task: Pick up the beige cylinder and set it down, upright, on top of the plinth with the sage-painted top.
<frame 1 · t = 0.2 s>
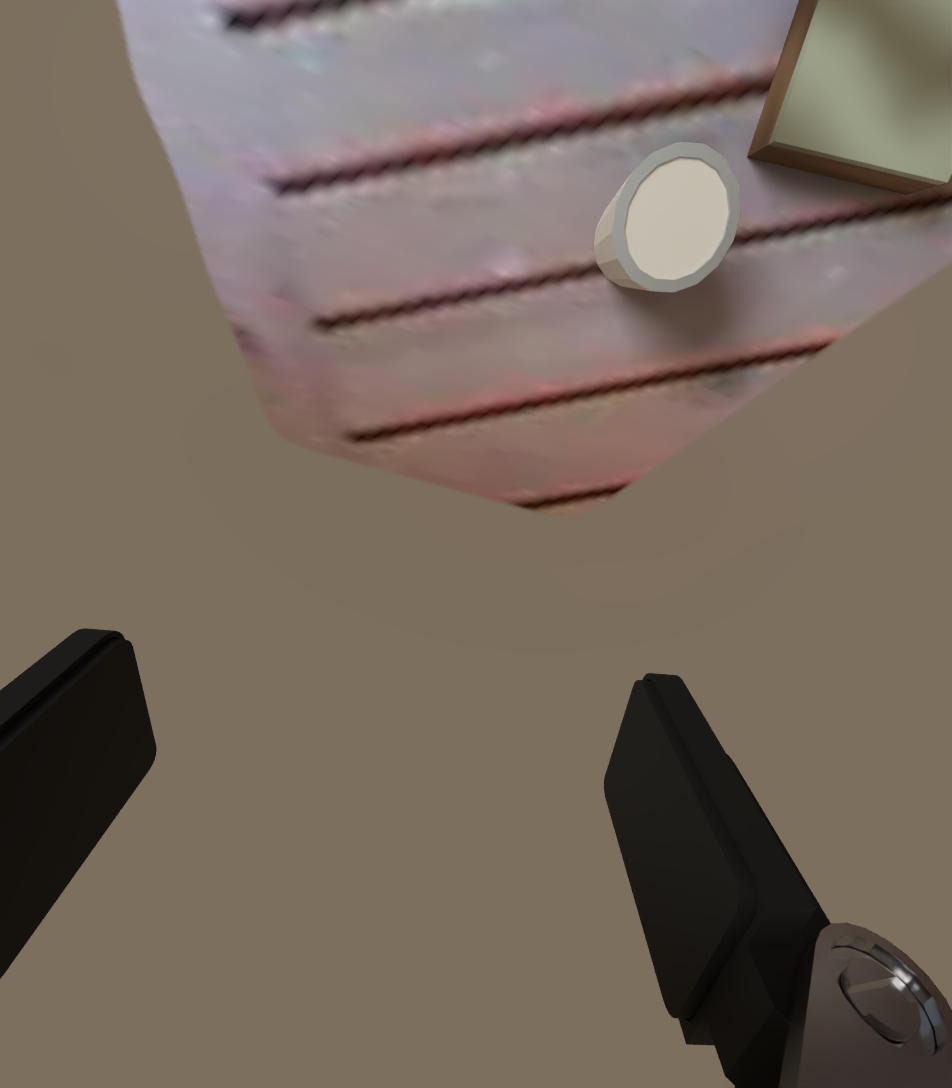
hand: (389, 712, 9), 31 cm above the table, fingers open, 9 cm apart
beige cylinder: (635, 240, 32), on the table
plinth: (872, 63, 28), on the table
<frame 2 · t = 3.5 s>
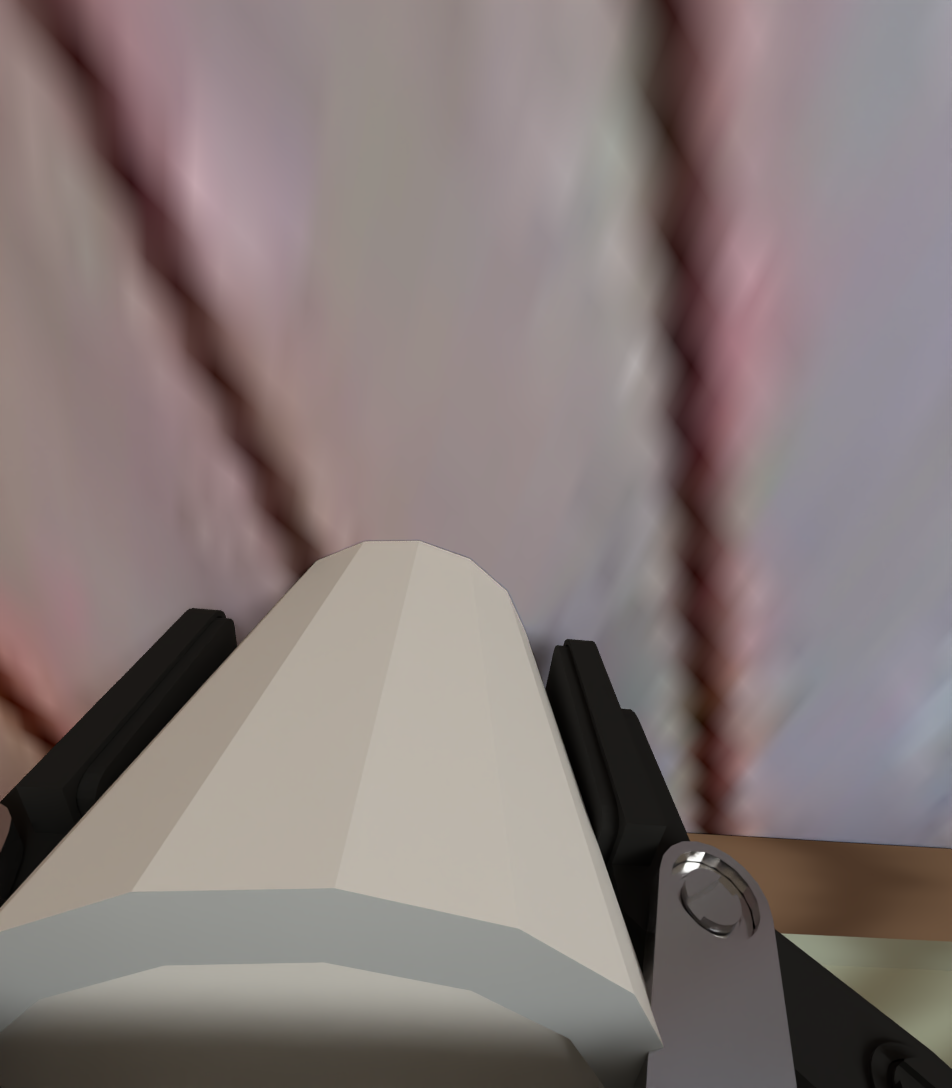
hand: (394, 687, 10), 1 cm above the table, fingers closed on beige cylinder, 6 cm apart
beige cylinder: (402, 647, 11), on the table, touching gripper
plinth: (717, 945, 16), on the table
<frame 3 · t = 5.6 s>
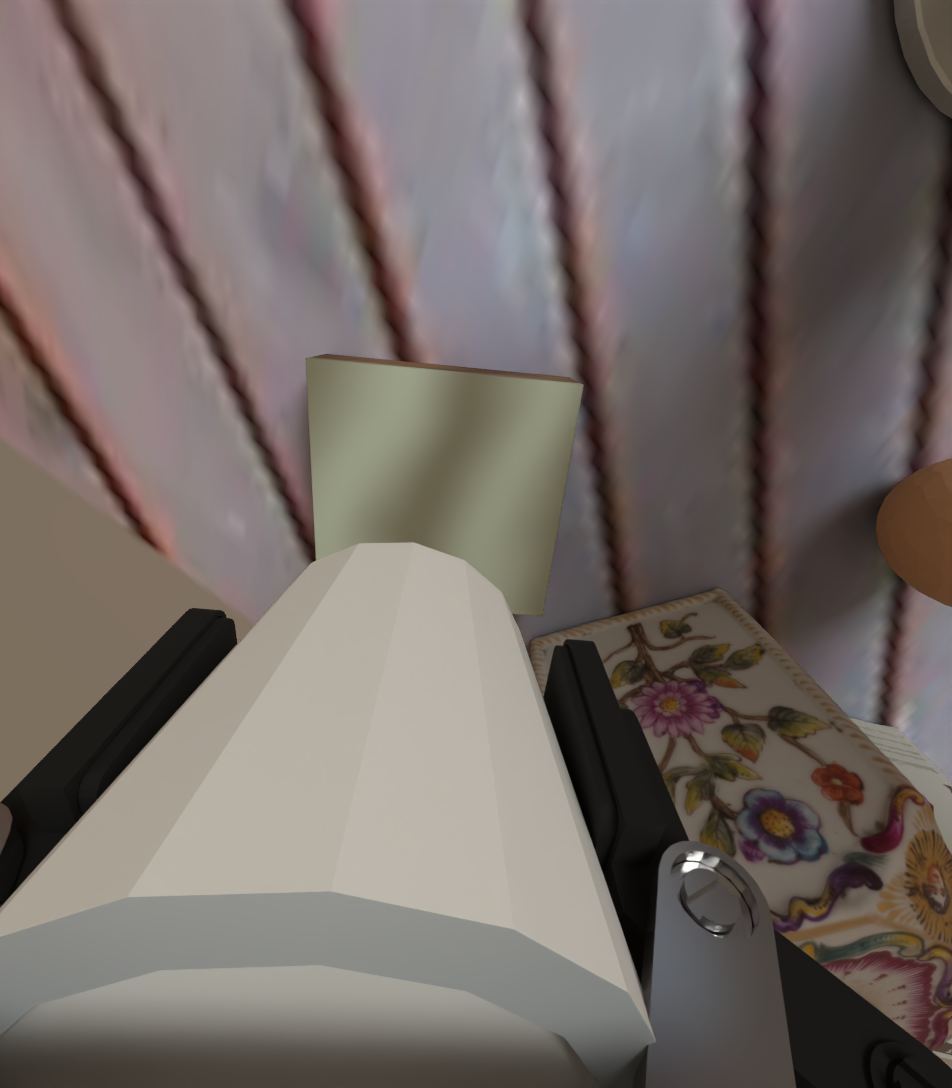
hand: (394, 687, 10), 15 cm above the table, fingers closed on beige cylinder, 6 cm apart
egg: (902, 500, 25), on the table
beige cylinder: (398, 648, 11), point 14 cm above the table, touching gripper
decorative jar: (638, 683, 30), on the table
skincare box: (813, 741, 32), on the table
plinth: (441, 482, 24), on the table
when the fingers open (5 cm above the table, at t = 8.0 s): beige cylinder drops 1 cm, resting on plinth.
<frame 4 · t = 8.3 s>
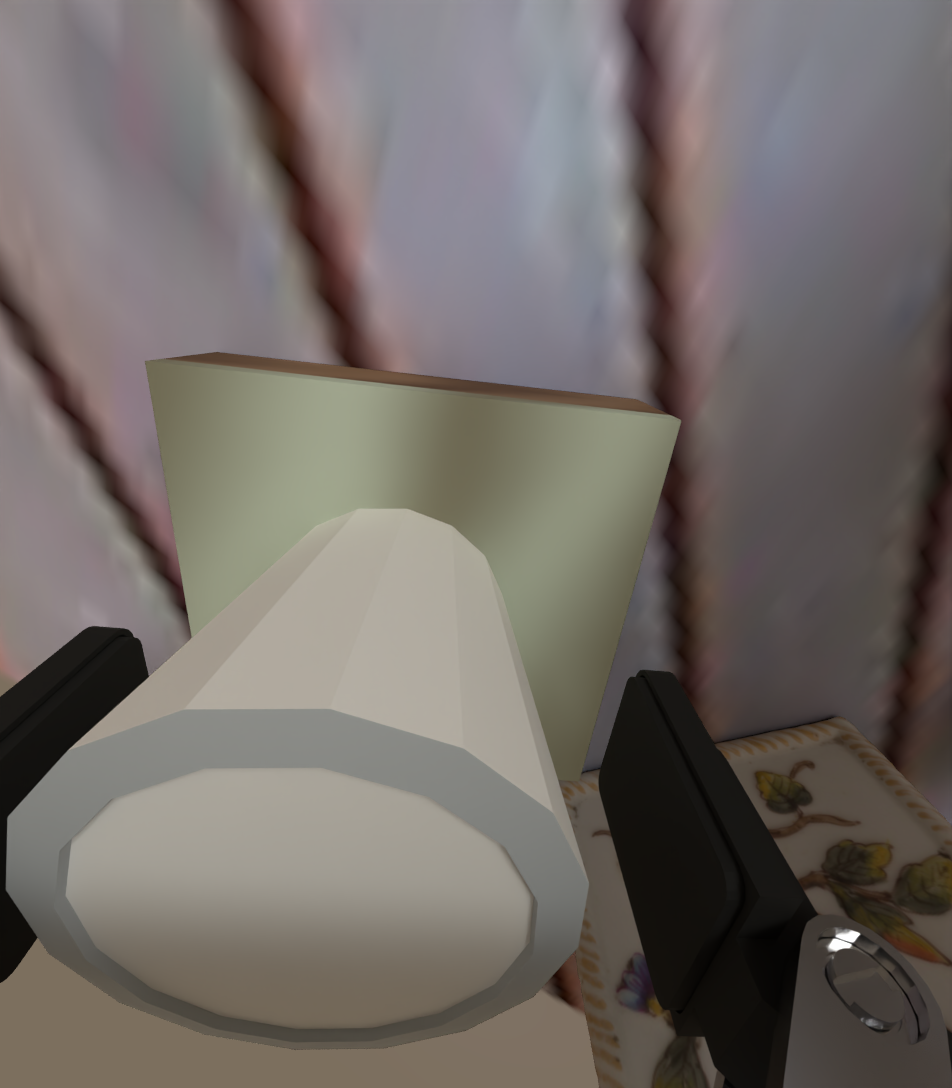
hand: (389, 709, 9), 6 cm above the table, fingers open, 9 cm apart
beige cylinder: (392, 607, 12), point 3 cm above the table, touching plinth
decorative jar: (703, 831, 21), on the table
plinth: (419, 562, 15), on the table
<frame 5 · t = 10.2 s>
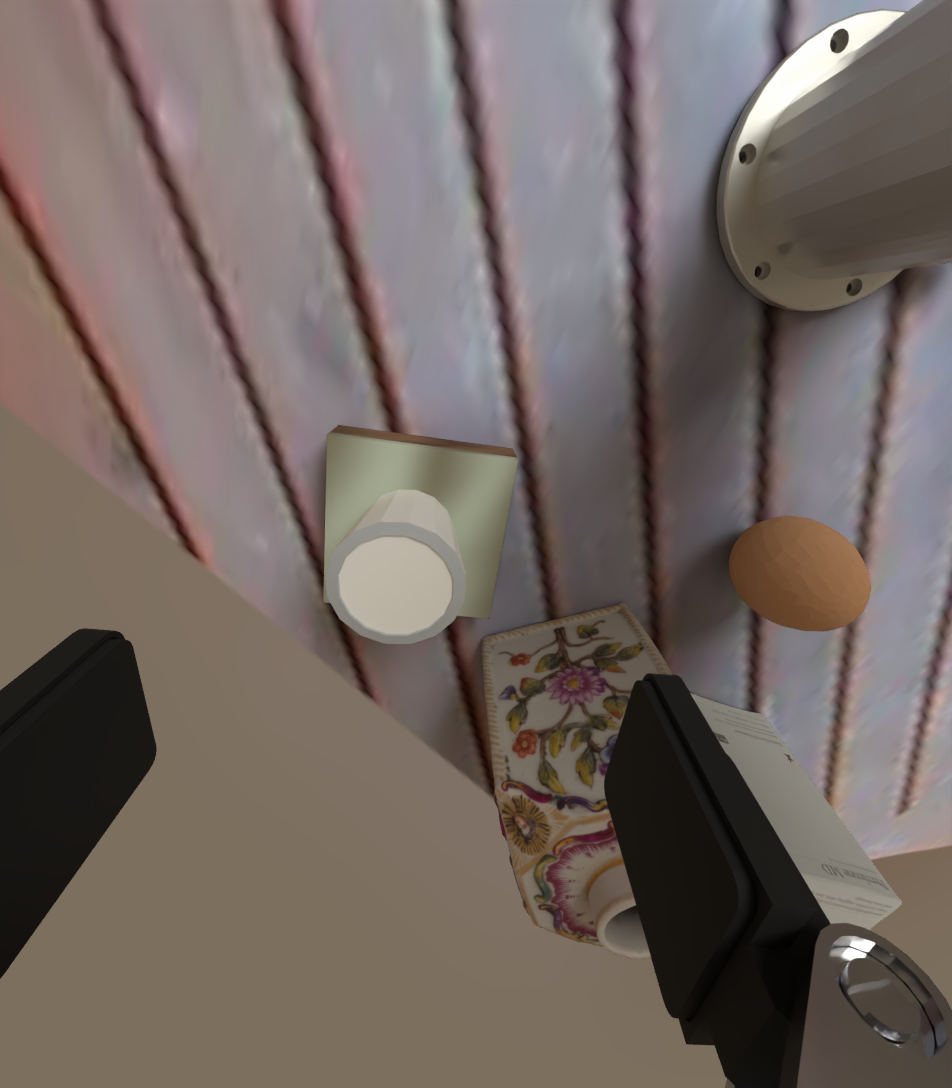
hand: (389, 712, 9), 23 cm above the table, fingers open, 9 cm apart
egg: (753, 543, 35), on the table
beige cylinder: (408, 531, 30), point 3 cm above the table, touching plinth
decorative jar: (565, 674, 39), on the table
skincare box: (701, 724, 42), on the table
plinth: (418, 517, 33), on the table
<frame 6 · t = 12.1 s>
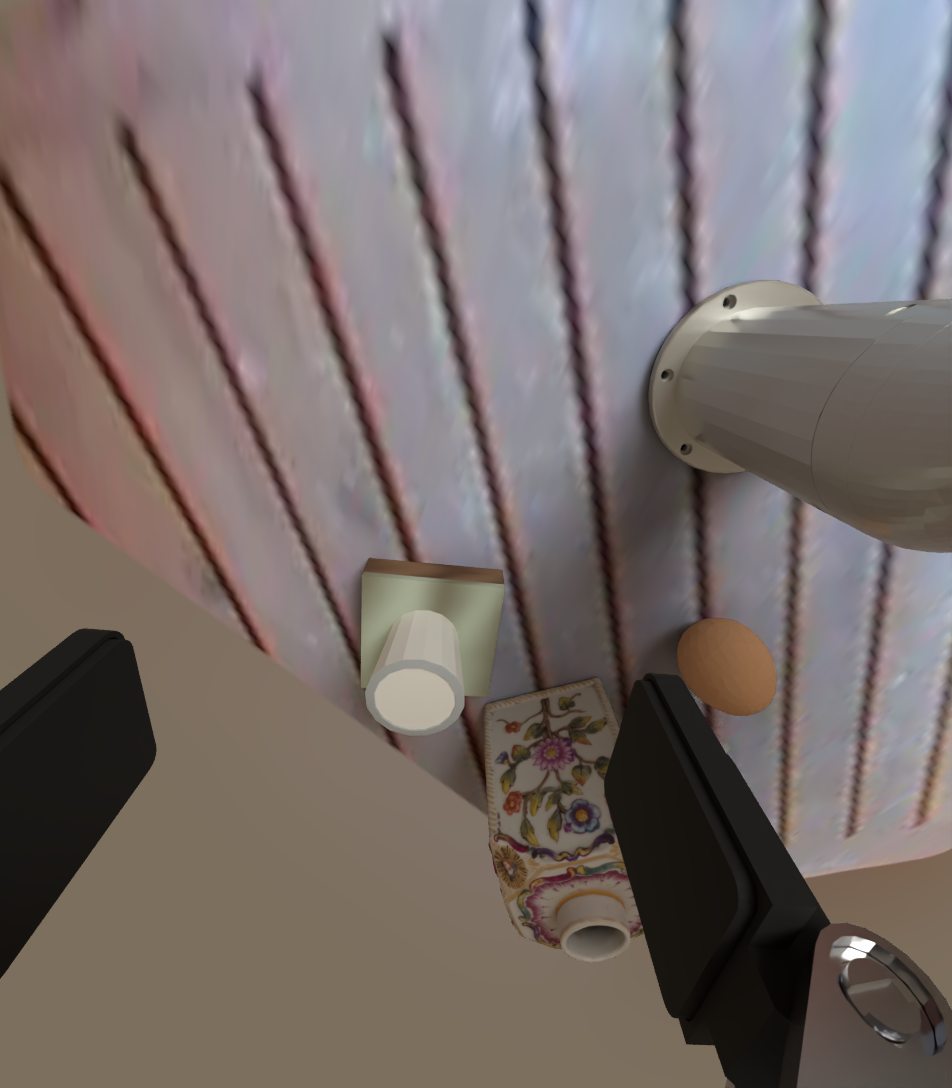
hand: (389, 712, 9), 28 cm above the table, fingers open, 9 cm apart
egg: (700, 631, 43), on the table
beige cylinder: (423, 637, 39), point 3 cm above the table, touching plinth
decorative jar: (553, 729, 48), on the table
plinth: (431, 619, 42), on the table
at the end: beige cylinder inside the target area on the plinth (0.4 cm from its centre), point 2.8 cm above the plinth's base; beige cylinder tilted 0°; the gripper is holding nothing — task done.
